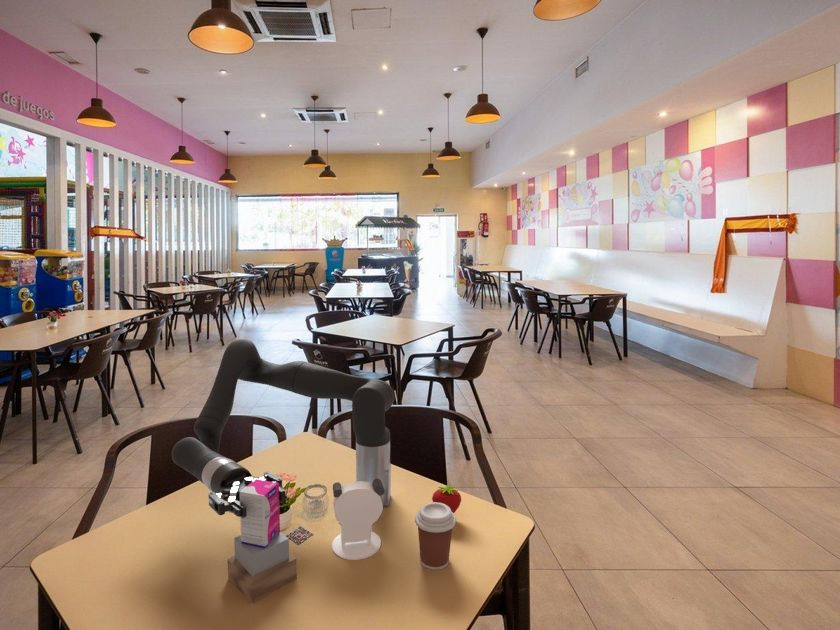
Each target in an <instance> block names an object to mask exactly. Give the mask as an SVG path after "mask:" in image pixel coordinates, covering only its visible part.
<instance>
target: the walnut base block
mask: <svg viewBox="0 0 840 630" xmlns="http://www.w3.org/2000/svg"><path fill="white" fill-rule="evenodd" d="M297 568H298V567H297V558H296V557H295V556H294V555H292V554H291V553H290V552H289V559H288V560H286V561H284V562H281V563H279V564H277V565H275V566H273V567H271V568H269V569H267V570H265V571H263V572H261V573H259V574H257V575H255V576H253V577H252V576H251V575H250V573H249V572H248V571H247V570H246V569H245V568H244V567H243V566H242V565H241V564H240V563H239V562H238V560H237V559H236V558H235V555H233V556H232V557H230V558H228V559H227V575H228V580H229V582H231V583H232V584H233V585H234V586H235V588H236V589H238V591H240V593H241V594H242V595H243V596H244V597H245V598H246V599H247V600H248V601H249V602H250V603H251V604H254V603H256V602H257V601H260V600H261V599H263V598H264V597H266V596H268V595H270V594H271V593H273V592H275V591H277V590H278V589H280V588H282V587H284V586H286V585H287V584H289V583H291V582H292V581H293V582H294V580H296V579H297V576H298V575H297V574H298V573H297Z"/></svg>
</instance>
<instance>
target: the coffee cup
mask: <svg viewBox="0 0 840 630" xmlns="http://www.w3.org/2000/svg"><path fill="white" fill-rule="evenodd" d="M414 523H415V526H417V532H418V542H419V543H418V544H419V545H418V547H419V561H420V563H421V565H422V566H423V567H424V568H426V569H428V570H430V571H431V570H432V571H437V570H438V571H439V570H442V569H445V568H447V566H448V565H449V562H450V551H451V544H452V543H451V542H452V532H453V528H454V527H455V526H456V523H457V517H456V515H455V513H453V512H451V509H450V507H448V506H447V505H445V504H443V503H438V502H433V501H432V502H428V503H425V504H423V505H422V506H421V507H420V509H419V510H418V511H417V512H416V513H415V516H414Z"/></svg>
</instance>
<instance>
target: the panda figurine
mask: <svg viewBox="0 0 840 630" xmlns="http://www.w3.org/2000/svg"><path fill="white" fill-rule="evenodd" d="M372 484H373V485H372ZM372 484H371V483H369V482H364V481H356V480H355V481H351V482H347V483H344V484H341V483H340V482H334V483H333V484H332V494H333V513H334V517H335V520H336V521H337V522H338V524H339V526H341V527H340V529H341V532H340V533H339V534H338V535H337V536H336V537H334V539H333V540H332V543H331V549H332V552H333V554H334V555H336V556H337V557H339V558H341V559H344V560H347V561H360V560H365V559H367V558H369V557H372V556H374V555H375V554H377V552H378V551H379V550H380V548H381V545H382V541H381V537H380V535H378V534H377V533H375V532H374V531H372V529H373V524H374V523H376V521H377V520H379V518H380V517H381V516H382V513H383V510H384V509H383V508H384V506H383V504H382V501H381V498H380V496H381V495H383V494H384V492H385V491H384V487H383V484H382V481H381V480H380V479H375V480H373V482H372Z"/></svg>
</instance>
